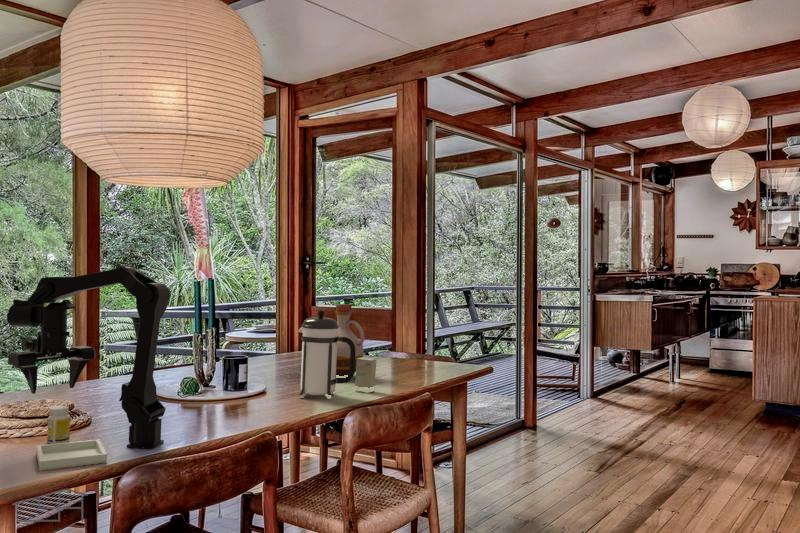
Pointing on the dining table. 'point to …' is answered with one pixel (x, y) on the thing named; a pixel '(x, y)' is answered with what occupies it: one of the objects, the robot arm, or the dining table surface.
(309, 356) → the coffee press
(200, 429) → the dining table surface
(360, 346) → the jug
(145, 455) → the dining table surface
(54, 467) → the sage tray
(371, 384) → the skincare box
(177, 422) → the dining table surface
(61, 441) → the supplement bottle
